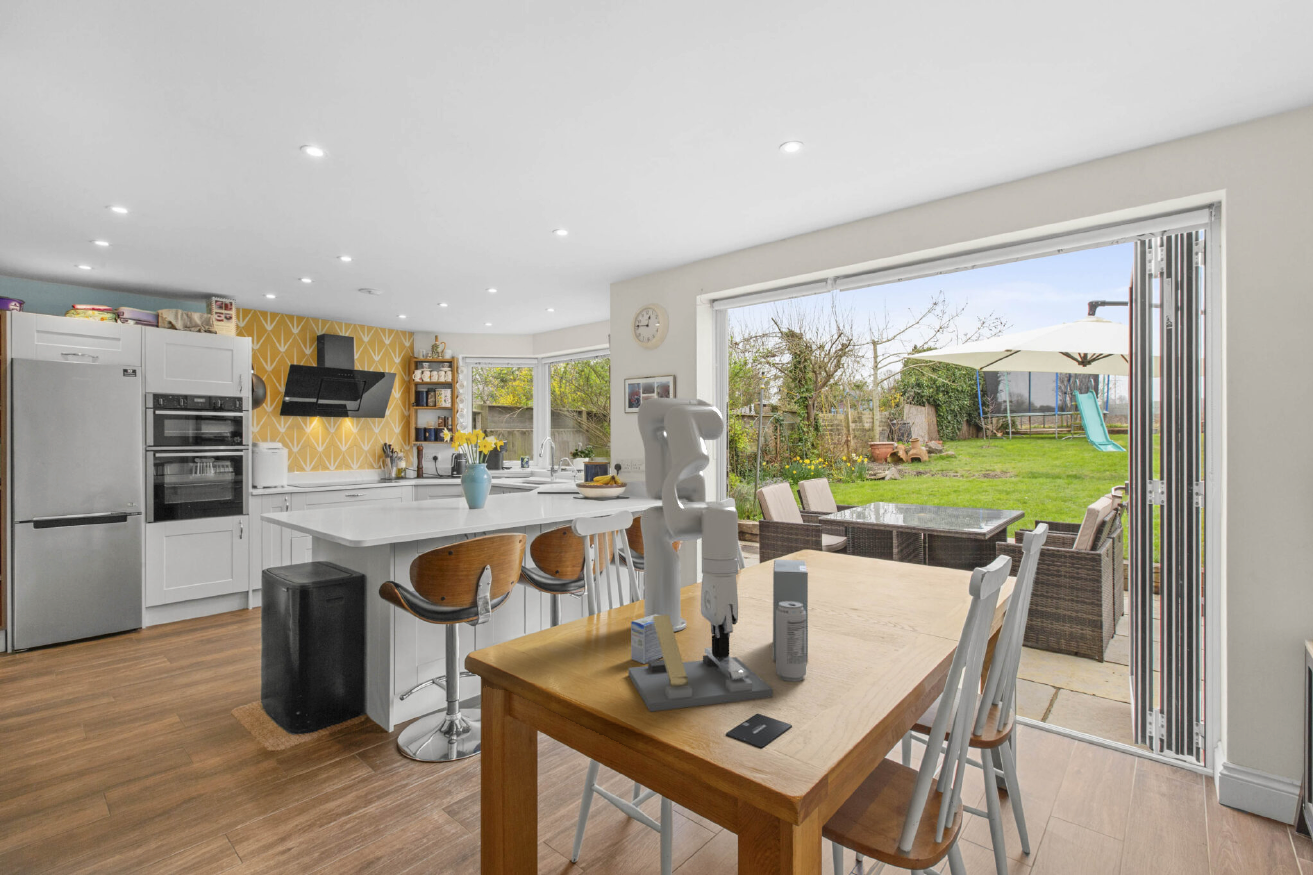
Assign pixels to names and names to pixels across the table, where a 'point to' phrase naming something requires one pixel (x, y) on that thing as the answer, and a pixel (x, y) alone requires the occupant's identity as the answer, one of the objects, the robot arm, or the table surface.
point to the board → (695, 685)
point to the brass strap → (670, 651)
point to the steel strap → (728, 666)
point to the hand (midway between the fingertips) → (720, 655)
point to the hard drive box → (789, 590)
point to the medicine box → (644, 640)
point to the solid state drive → (759, 730)
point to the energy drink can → (791, 641)
